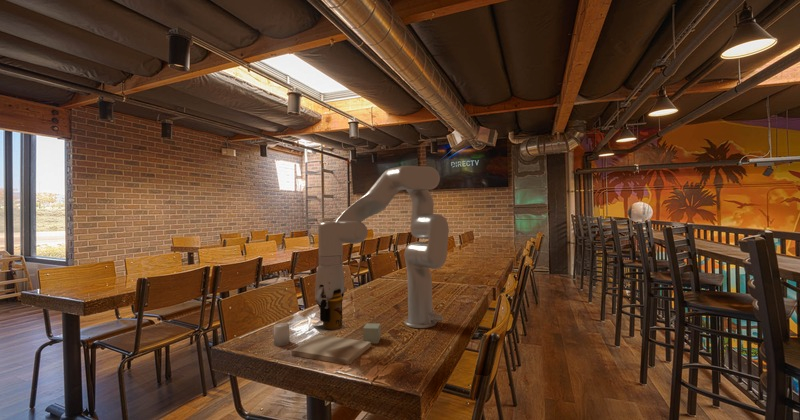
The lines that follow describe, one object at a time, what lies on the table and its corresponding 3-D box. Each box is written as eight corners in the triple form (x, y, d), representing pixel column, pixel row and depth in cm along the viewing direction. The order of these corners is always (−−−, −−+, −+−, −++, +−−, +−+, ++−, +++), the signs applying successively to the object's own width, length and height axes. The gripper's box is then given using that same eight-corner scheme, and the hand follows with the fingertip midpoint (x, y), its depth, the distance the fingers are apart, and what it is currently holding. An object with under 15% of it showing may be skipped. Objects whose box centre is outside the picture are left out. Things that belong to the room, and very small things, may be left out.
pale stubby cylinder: (292, 341, 114) (292, 323, 114) (282, 346, 109) (282, 328, 109) (281, 339, 116) (280, 322, 116) (270, 344, 111) (270, 326, 111)
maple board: (370, 346, 108) (370, 341, 108) (348, 364, 95) (348, 359, 95) (318, 339, 115) (318, 334, 115) (291, 355, 102) (291, 350, 102)
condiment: (347, 328, 104) (346, 289, 104) (320, 333, 99) (320, 293, 99) (338, 322, 110) (337, 285, 110) (312, 327, 105) (312, 289, 105)
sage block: (380, 338, 115) (380, 323, 115) (378, 343, 110) (377, 328, 110) (366, 337, 116) (366, 323, 116) (363, 343, 111) (363, 328, 111)
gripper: (335, 257, 115) (336, 309, 114) (303, 264, 99) (304, 325, 98) (354, 257, 112) (355, 311, 112) (324, 265, 96) (325, 327, 96)
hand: (331, 317), depth 105 cm, fingers closed on condiment, 6 cm apart
